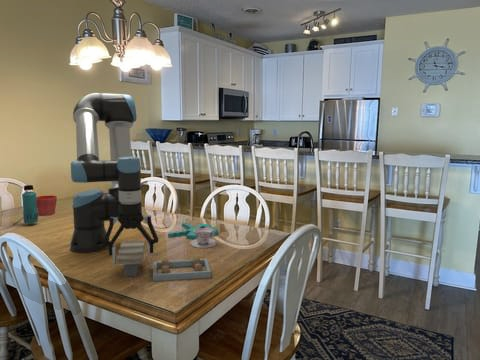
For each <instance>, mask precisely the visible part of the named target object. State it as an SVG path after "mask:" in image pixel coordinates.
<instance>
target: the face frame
mask: <svg viewBox="0 0 480 360" xmlns="http://www.w3.org/2000/svg"><path fill="white" fill-rule="evenodd" d="M202 266H204V269H205V270H203V269H202ZM181 267H192V268H193V269H194V271H183V272H170V268H181ZM158 269H161V273H158V272H157V271H158ZM211 273H212V272H211V268H210V265H209V262H208V259H207V258H201V257H196V256H195V257H193V258H192V259H183V260H180V259H179V260H169V259H168V258H167V259H166V258H164V259H161V261H154V262H153V272H152V281H153V282H159V281H162V282H163V281H174V280H176V281H177V280H189V279H205V278H211V277H212V275H211Z"/></svg>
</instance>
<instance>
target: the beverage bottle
mask: <svg viewBox="0 0 480 360" xmlns="http://www.w3.org/2000/svg"><path fill="white" fill-rule="evenodd" d="M23 190H24V192H23V193H22V194H21V198H22V212H23V222H24V224H35V223H37V222H39V213H38V209H37V199H36V197H37V193H36V192H35V191H32V190H34V185H32V184H27V185H24V186H23Z"/></svg>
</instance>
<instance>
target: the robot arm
mask: <svg viewBox="0 0 480 360" xmlns="http://www.w3.org/2000/svg"><path fill="white" fill-rule="evenodd" d="M137 117H138V116H137V108H136V104H135V100H134V98H133V97H132V95H130V94H125V93H106V92H105V93H104V92H103V93H101V92H100V93H99V92H92V93H89V94H87V95H85V96H83V97H82V98H80V99H79V100H78V102H77V103H76V104H75V105H74V108H73V112H72V119H73V121H74V123H75V133H76V136H75V137H76V138H75V139H76V140H75V141H76V160H75V161H71V162H70V175H71V181H72V182H73V183H77V184H78V183H79V184H80V183H81V184H83V183H84V184H87V183H100V182H101V183H102V182H103V183H104V182H107V183H108V182H111V185H110V186H109V187H108V189H107V191H108V192H104V191H103V190H102V189H89V190H85V191H81V192H78V193H76V194H74V196H73V197H72V208H73V209H72V210H73V211H72V213H73V233H72V236H71V241H70V250H71V251H72V252H74V253H75V252H76V253H94V252H99V251H102V250H105V249H107V248H108V253H109V254H108V255H109V256H112V266H116V265H117V251H116V250H117V249H116V244H115V243H116V241H117V240H118V238H119V236H121V234H122V232H123V231H124V229H125V230H130V229H132V230H134V229H135V230H136V229H137V230H138V231H139V232H140V233H141V234H142V236H143V237H144V239H145V240H146V241H147V263H148V264H151V254H154V244H158V243H159V237H158V235H157V232H156V229H155V227H154V225H153V222H152V215H150V214H149V215H143V210H142V206H143V204H142V186H141V185H142V181H141V180H142V179H141V178H142V177H141V176H142V175H141V174H142V173H141V171H142V170H141V169H142V165H141V159H140V158H139V157H137V156H132V147H131V146H132V145H131V141H132V139H131V128H132V127H133V126H134V123H135V122H136V121H137ZM98 122H104V126H105V127H106V128H107V129H108V133H109V134H108V135H109V153H110V154H109V155H110V160H100V153H99V151H100V150H99V141H98V126H97V125H98ZM107 221H108V222H109V225H108V228H107V229H106V228H105V222H107ZM143 221H144V222H145V223H147V226H148V228H149V231H150V234H151V235H150V234H149V233H148V231H147V230H146V229H145V228H144V226H143V225H142V222H143ZM117 222H119V224H120V226H119V228H118V230H117V231H116V232H115V233H114V235H113V237H112V238H111V240H110V237H111V233H112V230H113V228H114V225H115V224H116V223H117ZM151 236H152V237H151Z"/></svg>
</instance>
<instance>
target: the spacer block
mask: <svg viewBox="0 0 480 360" xmlns="http://www.w3.org/2000/svg"><path fill="white" fill-rule="evenodd" d="M123 266H124V277H136V276H138V271H139V267H140V264H125V265H123Z"/></svg>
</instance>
